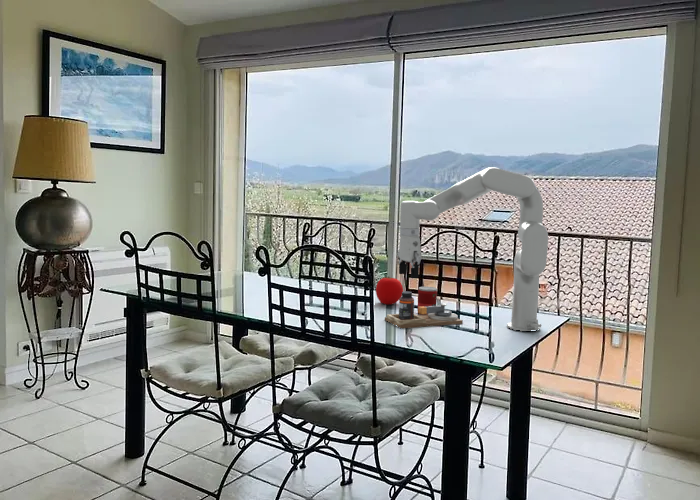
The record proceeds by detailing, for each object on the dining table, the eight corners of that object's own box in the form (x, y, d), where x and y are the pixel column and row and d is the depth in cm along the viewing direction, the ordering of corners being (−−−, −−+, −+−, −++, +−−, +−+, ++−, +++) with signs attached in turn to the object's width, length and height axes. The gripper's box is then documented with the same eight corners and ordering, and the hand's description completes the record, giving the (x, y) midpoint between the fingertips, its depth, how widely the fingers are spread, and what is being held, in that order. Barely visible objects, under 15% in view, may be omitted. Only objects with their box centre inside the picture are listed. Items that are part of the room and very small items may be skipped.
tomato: (371, 304, 285) (372, 277, 284) (380, 300, 296) (381, 273, 295) (397, 307, 281) (398, 279, 279) (405, 302, 291) (406, 275, 290)
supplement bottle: (410, 318, 256) (412, 290, 255) (415, 321, 250) (416, 293, 249) (396, 318, 255) (397, 290, 253) (401, 322, 249) (402, 293, 248)
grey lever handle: (444, 311, 264) (445, 301, 263) (455, 315, 258) (455, 305, 257) (414, 314, 257) (415, 304, 256) (424, 318, 251) (425, 307, 250)
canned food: (435, 316, 267) (436, 290, 265) (416, 314, 268) (417, 289, 267) (436, 312, 274) (437, 287, 273) (418, 310, 276) (419, 285, 274)
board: (464, 323, 255) (465, 316, 255) (400, 328, 244) (400, 321, 244) (446, 315, 268) (446, 309, 268) (384, 320, 257) (384, 313, 256)
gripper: (429, 234, 242) (428, 278, 244) (407, 230, 257) (406, 272, 260) (411, 235, 239) (410, 280, 241) (391, 230, 254) (390, 273, 257)
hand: (408, 275), depth 250 cm, fingers open, 9 cm apart
